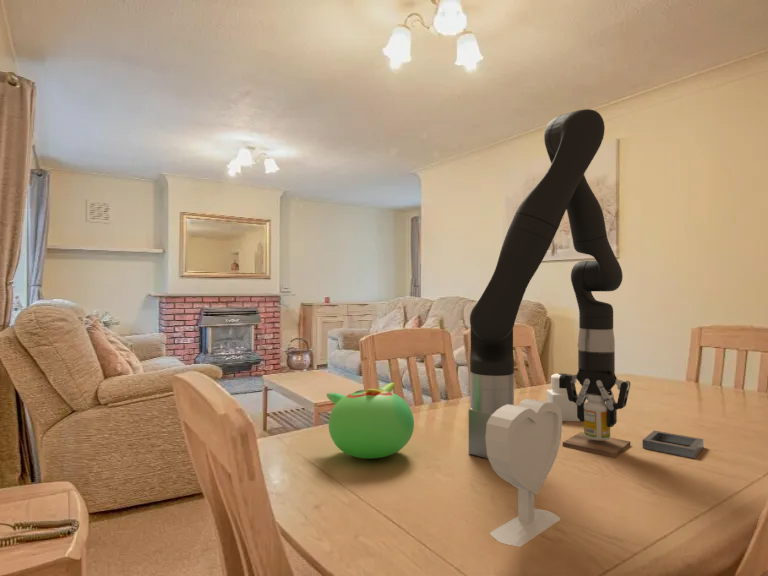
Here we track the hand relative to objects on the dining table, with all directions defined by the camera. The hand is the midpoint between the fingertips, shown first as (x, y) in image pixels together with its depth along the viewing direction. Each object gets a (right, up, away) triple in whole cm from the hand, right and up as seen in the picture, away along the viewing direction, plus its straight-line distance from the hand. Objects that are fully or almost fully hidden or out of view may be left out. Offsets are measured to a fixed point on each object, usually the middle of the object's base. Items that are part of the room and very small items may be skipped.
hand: (596, 423), depth 107 cm
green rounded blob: (-51, -5, -6) cm, 51 cm away
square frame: (+16, -5, -1) cm, 17 cm away
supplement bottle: (0, -3, 0) cm, 3 cm away
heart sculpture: (-27, -5, -37) cm, 46 cm away
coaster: (0, -5, 0) cm, 5 cm away
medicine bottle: (+1, -5, +23) cm, 24 cm away
